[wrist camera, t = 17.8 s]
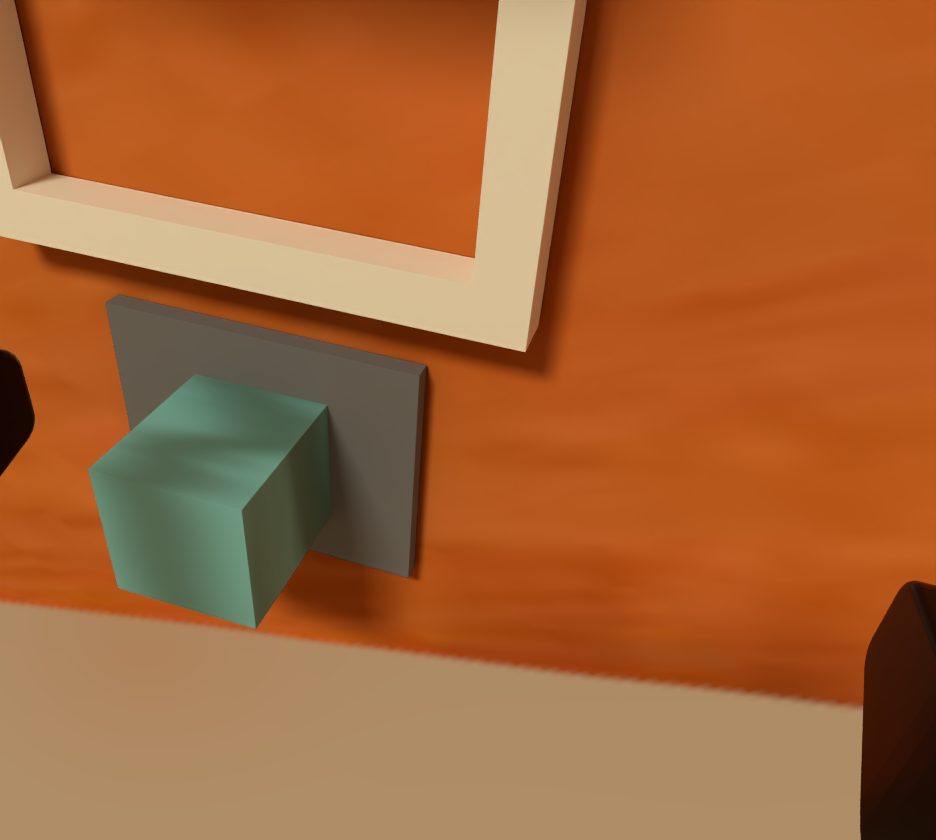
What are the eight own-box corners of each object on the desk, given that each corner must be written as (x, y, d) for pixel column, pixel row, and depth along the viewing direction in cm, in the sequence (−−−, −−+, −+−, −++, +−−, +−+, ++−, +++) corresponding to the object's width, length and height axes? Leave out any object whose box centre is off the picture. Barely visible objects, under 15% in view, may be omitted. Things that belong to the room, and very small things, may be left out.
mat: (426, 365, 23) (419, 375, 23) (414, 565, 28) (408, 578, 27) (118, 294, 25) (105, 302, 25) (154, 493, 30) (144, 503, 29)
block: (327, 405, 24) (241, 510, 20) (331, 515, 27) (255, 628, 23) (194, 374, 25) (88, 469, 21) (211, 484, 28) (118, 588, 24)
